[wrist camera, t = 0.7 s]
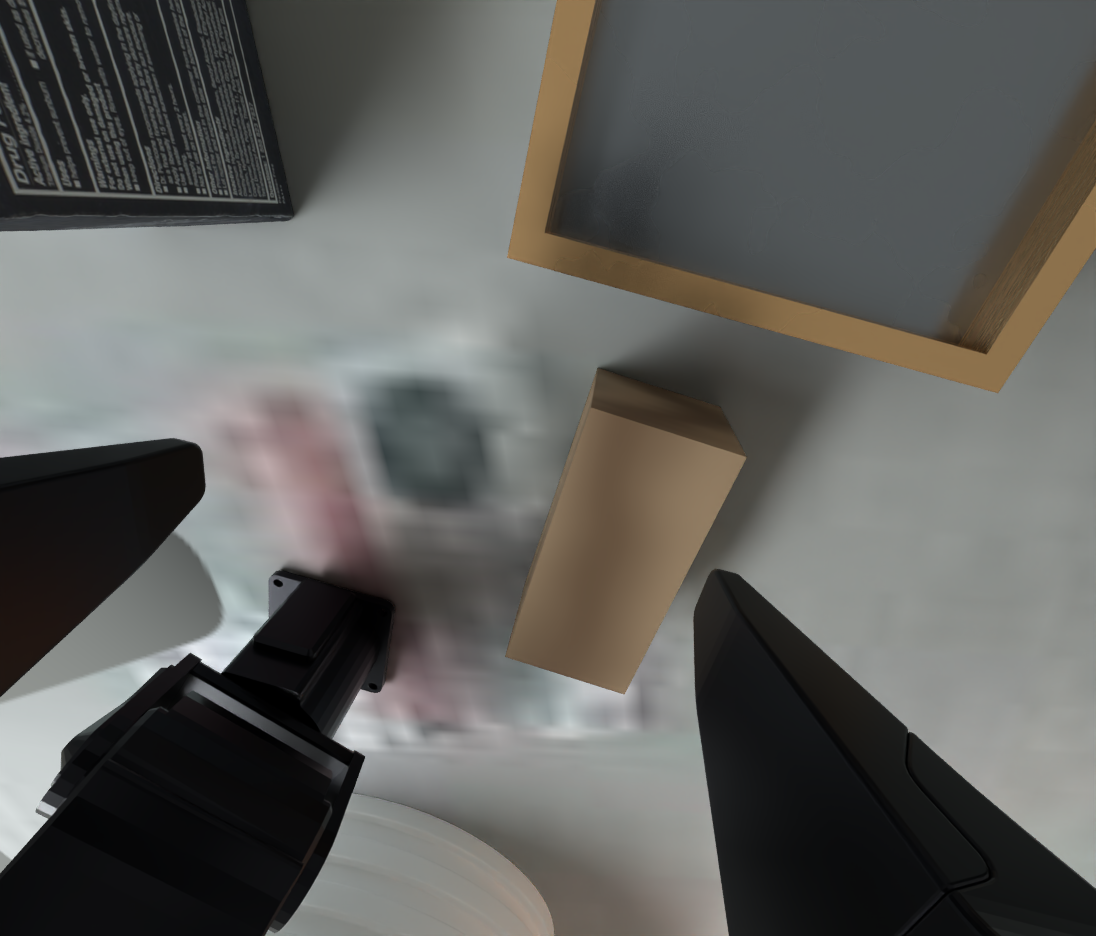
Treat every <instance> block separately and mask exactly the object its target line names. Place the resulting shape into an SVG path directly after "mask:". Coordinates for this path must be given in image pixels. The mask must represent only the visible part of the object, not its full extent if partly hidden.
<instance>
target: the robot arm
mask: <svg viewBox="0 0 1096 936" xmlns="http://www.w3.org/2000/svg"><path fill="white" fill-rule="evenodd" d="M205 487H206V484H205V474H204V463H203V453H202V450H201V448H200V447H199V446H198V445H197V444H195V443H193V442H188V441H184V440H180V439H175V438H169V439H160V440H151V441H143V442H134V443H125V444H116V445H108V446H99V447H90V448H81V449H73V450H64V451H55V452H47V453H38V454H29V455H20V456H12V457H3V458H0V697H1V696H2V695H3V694H4V693H5V692H6V691H7V690H8V689H9V688H10V687H12V686H13V685H14V684H15V683H16V682H17V681H18V680H19V679H20V678H21V677H22V676H23V675H25V674H26V673H27V672H28V671H29V670H30V669H31V668H32V667H33V666H34V665H35V664H36V663H37V662H39V661H40V660H41V659H42V658H43V657H44V656H45V655H46V654H47V653H48V652H49V651H50V650H51V649H53V648H54V647H55V646H56V645H57V644H58V643H59V642H60V641H61V640H62V639H63V638H64V637H66V635H68V634H69V633H70V632H71V631H72V630H73V629H74V628H75V627H76V626H77V625H79V623H81V622H82V621H83V620H84V619H85V618H86V617H87V616H88V615H89V614H90V613H91V612H93V611H94V610H95V609H96V608H97V607H98V606H99V605H100V604H101V603H102V602H103V601H105V600H106V599H107V598H108V597H109V596H110V595H111V594H112V593H113V592H114V591H115V590H116V589H117V588H119V587H120V586H121V585H122V584H123V583H124V582H125V581H126V580H127V579H128V578H129V577H130V576H132V575H133V574H134V573H135V572H136V570H138V569H139V568H140V567H141V566H142V565H143V564H144V563H145V562H146V561H147V559H148V558H149V557H150V556H151V555H152V554H153V553H154V552H155V551H156V550H157V549H158V547H159V546H160V545H161V544H162V543H163V542H164V541H165V539H166V538H167V537H168V536H169V535H170V534H171V533H172V532H173V531H174V529H175V528H176V527H177V526H178V525H179V524H180V523H181V522H182V520H183V519H184V518H185V517H186V516H187V515H188V514H189V513H190V511H191V510H192V509H193V508H194V507H195V506H196V505H197V504H198V503H199V501H200V500H201V499H202V497H203V495H204V492H205ZM280 580H281V581H282V582H281V581H280ZM382 609H384V610H385V611H383V610H382ZM394 613H395V607H394V605H393V604H392V603H391V602H389V601H387V600H384V599H380V598H377V597H373V596H370V595H366V594H363V593H359V592H356V591H352V590H349V589H345V588H342V587H338V586H334V585H331V584H327V583H324V582H320V581H317V580H313V579H310V578H306V577H303V576H299V575H296V574H292V573H289V572H285V571H280V570H279V571H276V572H275V573H274V574H273V575H272V576H271V577H270V578H269V619H268V620H267V621H266V622H265V623H264V624H263V625H262V627H261V628H260V629H259V630H258V631H257V632H256V633H255V634H254V636H253V638H252V639H251V640H250V641H249V642H248V644H247V645H246V646H245V647H244V648H243V649H242V650H241V651H240V653H239V654H238V655H237V656H236V657H235V658H234V659H233V660H232V662H231V663H230V664H229V665H228V666H227V667H226V668H225V669H224V671H223V672H222V673H219V672H217V671H215V670H214V669H212V668H210V667H209V666H207V665H205V664H204V663H202V662H201V660H202V659H200V658H198V657H197V656H195V655H193V654H192V653H189V654H188V655H187V656H186V657H185V658H184V659H183V660H181V661H180V662H179V663H178V664H177V665H176V666H173V665H170V666H169V667H168V668H160V669H159V670H158V671H157V672H156V673H155V674H154V675H153V676H152V677H151V678H150V679H149V680H148V681H147V682H146V683H145V684H144V685H143V686H142V687H141V688H140V689H139V690H138V691H137V692H135V693H134V694H133V695H132V696H131V697H130V698H129V699H127V700H126V701H125V702H124V703H122V704H121V705H120V706H118V707H117V708H115V709H114V710H112V711H111V712H110V713H108V714H107V715H105V716H104V717H102V718H101V719H99V720H98V721H97V722H95V723H94V724H92V725H91V726H89V727H88V728H87V729H85V730H84V731H82V732H81V733H79V734H78V735H77V736H75V737H74V738H73V739H72V740H71V741H70V742H69V743H68V744H67V745H66V746H65V748H64V749H63V750H62V752H61V771H60V772H59V773H58V775H57V776H56V778H55V779H54V780H53V782H52V784H51V786H52V787H51V788H50V789H49V790H48V792H47V793H46V794H45V796H44V797H43V799H42V800H41V801H40V803H39V805H38V806H37V808H36V813H38V814H40V815H42V816H44V817H46V818H48V820H47V821H46V823H45V824H44V825H43V826H42V827H41V828H40V829H39V830H38V832H37V833H36V834H35V835H34V836H33V837H32V838H31V839H30V841H29V842H28V843H27V844H26V845H25V846H24V847H23V848H22V850H21V851H20V852H19V853H18V854H17V855H16V856H15V857H14V859H13V860H12V861H11V862H10V863H9V864H8V865H7V866H6V868H5V869H4V870H3V871H2V872H1V873H0V936H265V935H266V933H267V931H268V930H269V931H271V932H273V933H276V932H278V931H280V930H281V929H282V928H283V927H284V926H285V925H286V923H287V922H288V921H289V920H290V918H291V917H292V916H293V914H294V913H295V912H296V910H297V909H298V907H299V906H300V904H301V903H302V901H303V900H304V898H305V896H306V895H307V893H308V892H309V890H310V888H311V887H312V885H313V883H314V881H315V880H316V878H317V876H318V874H319V872H320V870H321V868H322V867H323V865H324V863H325V861H326V859H327V857H328V854H329V852H330V850H331V848H332V846H333V843H334V841H335V838H336V836H337V833H338V831H339V828H340V825H341V822H342V820H343V817H344V814H345V811H346V809H347V806H348V803H349V800H350V798H351V795H352V792H353V789H354V787H355V784H356V781H357V778H358V776H359V773H360V770H361V767H362V764H363V762H364V759H365V756H364V755H362V754H360V753H359V752H357V751H354V752H352V751H351V750H349V749H347V748H346V747H344V746H342V745H341V744H339V743H337V742H336V741H334V740H332V738H333V737H334V735H335V733H336V731H337V729H338V728H339V726H340V724H341V722H342V721H343V719H344V717H345V715H346V713H347V712H348V710H349V708H350V706H351V705H352V703H353V701H354V699H355V697H356V696H357V694H358V692H359V690H360V689H362V690H366V691H369V692H373V693H378V692H380V691H381V689H382V687H383V685H384V683H385V677H386V670H387V663H388V655H389V648H390V641H391V634H392V627H393V620H394ZM693 622H694V665H695V696H696V708H697V716H698V723H699V730H700V737H701V744H702V751H703V758H704V765H705V772H706V779H707V786H708V793H709V800H710V807H711V814H712V821H713V828H714V835H715V842H716V849H717V855H718V862H719V869H720V876H721V883H722V890H723V897H724V904H725V911H726V918H727V925H728V932H729V936H1096V888H1094V887H1093V886H1092V885H1091V884H1089V883H1088V882H1087V881H1086V880H1085V879H1083V878H1082V877H1081V876H1080V875H1079V874H1077V873H1076V872H1075V871H1074V870H1073V869H1071V868H1070V867H1069V866H1068V865H1066V864H1065V863H1064V862H1063V861H1062V860H1060V859H1059V858H1058V857H1057V856H1056V855H1054V854H1053V853H1052V852H1051V851H1049V850H1048V849H1047V848H1046V847H1045V846H1043V845H1042V844H1041V843H1040V842H1039V841H1037V840H1036V839H1035V838H1034V837H1033V836H1031V835H1030V834H1029V833H1028V832H1026V831H1025V830H1024V829H1023V828H1022V827H1021V826H1019V825H1018V824H1017V823H1016V822H1015V821H1013V820H1012V819H1011V818H1010V817H1009V816H1007V815H1006V814H1005V813H1004V812H1003V811H1001V810H1000V809H999V808H998V807H997V806H996V805H994V804H993V803H992V802H991V801H990V800H988V799H987V798H986V797H985V796H984V795H982V794H981V793H980V792H979V791H978V790H977V789H975V788H974V787H973V786H972V785H971V784H970V783H969V782H967V781H966V780H965V779H964V778H963V777H962V776H961V775H960V774H958V773H957V772H956V771H955V770H954V769H953V768H952V767H951V766H949V765H948V764H947V763H946V762H945V761H944V760H943V759H941V758H940V757H939V756H938V755H937V754H936V753H935V752H934V751H933V750H931V749H930V748H929V747H928V746H927V745H926V744H925V743H924V742H923V741H922V740H921V739H919V738H918V737H917V736H916V735H915V734H914V733H912V732H909V733H908V729H907V727H906V726H905V725H904V724H903V723H902V722H901V721H899V720H898V719H897V718H896V717H895V716H894V715H893V714H892V713H891V712H890V711H888V710H887V709H886V708H885V707H884V706H883V705H882V704H881V703H880V702H878V701H877V700H876V699H875V698H874V697H873V696H872V695H871V694H870V693H869V692H867V691H866V690H865V689H864V688H863V687H862V686H861V685H860V684H859V683H858V682H856V681H855V680H854V679H853V678H852V677H851V676H850V675H849V674H848V673H847V672H845V671H844V670H843V669H842V668H841V667H840V666H839V665H838V664H837V663H835V662H834V661H833V660H832V659H831V658H830V657H829V656H828V655H827V654H826V653H824V652H823V651H822V650H821V649H820V648H819V647H818V646H817V645H816V644H815V643H813V642H812V641H811V640H810V639H809V638H808V637H807V636H806V635H805V634H804V633H802V632H801V631H800V630H799V629H798V628H797V627H796V626H795V625H794V624H792V623H791V622H790V621H789V620H788V619H787V618H786V617H785V616H784V615H783V614H781V613H780V612H779V611H778V610H777V609H776V608H775V607H774V606H773V605H772V604H770V603H769V602H768V601H767V600H766V599H765V598H764V597H763V596H762V595H761V594H759V593H758V592H757V591H756V590H755V589H754V588H753V587H752V586H751V585H750V584H748V583H747V582H746V581H745V580H744V579H743V578H742V577H741V576H740V575H738V574H736V573H733V572H728V571H724V570H720V569H714V570H713V571H711V573H710V574H709V576H708V578H707V580H706V583H705V585H704V588H703V590H702V592H701V595H700V597H699V599H698V602H697V604H696V607H695V611H694V619H693Z"/></svg>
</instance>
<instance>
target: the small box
mask: <svg viewBox="0 0 1096 936" xmlns="http://www.w3.org/2000/svg"><path fill="white" fill-rule="evenodd" d="M292 217H293V210H292V206H291V201H290V197H289V192H288V187H287V184H286V178H285V173H284V169H283V165H282V161H281V156H280V152H279V148H278V143H277V139H276V134H275V130H274V126H273V121H272V117H271V112H270V108H269V104H268V100H267V95H266V90H265V86H264V82H263V77H262V72H261V68H260V64H259V60H258V55H257V51H256V47H255V43H254V39H253V34H252V29H251V24H250V20H249V16H248V11H247V7H246V3H245V0H0V231H37V230H68V229H97V228H126V227H162V226H169V227H170V226H191V225H212V224H231V223H233V224H236V223H257V222H274V221H288V220H291V218H292Z"/></svg>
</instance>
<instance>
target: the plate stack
mask: <svg viewBox="0 0 1096 936" xmlns="http://www.w3.org/2000/svg"><path fill="white" fill-rule="evenodd" d="M265 936H554V926H553V921H552V917H551V914H550V912H549V909H548V907H547V905H546V903H545V901H544V899H543V898H542V896H541V895H540V893H539V892H538V890H537V889H536V888H535V886H534V885H533V884H532V883H531V881H530V880H529V879H528V878H527V877H526V876H525V875H524V874H523V873H522V872H521V871H520V870H519V869H518V868H517V867H516V866H515V865H514V864H513V863H511V862H510V861H509V860H508V859H507V858H505V857H504V856H503V855H502V854H500V853H499V852H498V851H496V850H495V849H493V848H492V847H490V846H489V845H487V844H486V843H484V842H483V841H481V840H480V839H478V838H476V837H475V836H473V835H471V834H469V833H468V832H466V831H464V830H462V829H460V828H458V827H456V826H454V825H452V824H450V823H448V822H446V821H444V820H441V819H439V818H437V817H434V816H432V815H430V814H427V813H424V812H422V811H419V810H416V809H413V808H411V807H408V806H404V805H401V804H398V803H394V802H391V801H387V800H383V799H379V798H375V797H370V796H365V795H360V794H354V793H352V795H351V798H350V800H349V803H348V806H347V809H346V811H345V814H344V817H343V820H342V822H341V825H340V828H339V831H338V833H337V836H336V838H335V841H334V843H333V846H332V848H331V850H330V852H329V854H328V857H327V859H326V861H325V863H324V865H323V867H322V868H321V870H320V872H319V874H318V876H317V878H316V880H315V881H314V883H313V885H312V887H311V888H310V890H309V892H308V893H307V895H306V896H305V898H304V900H303V901H302V903H301V904H300V906H299V907H298V909H297V910H296V912H295V913H294V914H293V916H292V917H291V918H290V920H289V921H288V922H287V923H286V925H285V926H284V927H283V928H282V929H281V930H280V931H278V932H276V933H273V932H271V931H269V930H268V931H267V933H266V935H265Z"/></svg>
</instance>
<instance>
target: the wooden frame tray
mask: <svg viewBox="0 0 1096 936" xmlns="http://www.w3.org/2000/svg"><path fill="white" fill-rule="evenodd" d="M1095 248H1096V0H557V3H556V8H555V13H554V18H553V23H552V29H551V34H550V39H549V44H548V49H547V54H546V60H545V65H544V70H543V75H542V80H541V85H540V91H539V96H538V101H537V106H536V111H535V116H534V122H533V127H532V132H531V137H530V142H529V147H528V153H527V158H526V163H525V168H524V173H523V179H522V184H521V189H520V194H519V199H518V204H517V210H516V215H515V220H514V225H513V230H512V235H511V241H510V246H509V251H508V256H507V258H510V259H514V260H518V261H521V262H525V263H528V264H532V265H536V266H539V267H543V268H547V269H550V270H554V271H557V272H561V273H565V274H568V275H572V276H576V277H579V278H583V279H586V280H590V281H594V282H597V283H601V284H605V285H608V286H612V287H615V288H619V289H623V290H626V291H630V292H633V293H637V294H641V295H644V296H648V297H652V298H655V299H659V300H662V301H666V302H670V303H673V304H677V305H681V306H684V307H688V308H691V309H695V310H699V311H702V312H706V313H710V314H713V315H717V316H720V317H724V318H728V319H731V320H735V321H738V322H742V323H746V324H749V325H753V326H757V327H760V328H764V329H767V330H771V331H775V332H778V333H782V334H786V335H789V336H793V337H796V338H800V339H804V340H807V341H811V342H815V343H818V344H822V345H825V346H829V347H833V348H836V349H840V350H843V351H847V352H851V353H854V354H858V355H862V356H865V357H869V358H872V359H876V360H880V361H883V362H887V363H891V364H894V365H898V366H901V367H905V368H909V369H912V370H916V371H919V372H923V373H927V374H930V375H934V376H938V377H941V378H945V379H948V380H952V381H956V382H959V383H963V384H967V385H970V386H974V387H977V388H981V389H985V390H988V391H992V392H996V393H998V392H999V391H1000V389H1001V388H1002V386H1003V385H1004V383H1005V382H1006V380H1007V379H1008V377H1009V376H1010V374H1011V373H1012V371H1013V370H1014V369H1015V367H1016V366H1017V364H1018V363H1019V361H1020V360H1021V358H1022V357H1023V355H1024V354H1025V352H1026V351H1027V349H1028V348H1029V346H1030V345H1031V343H1032V342H1033V340H1034V339H1035V337H1036V336H1037V334H1038V333H1039V331H1040V330H1041V328H1042V327H1043V325H1044V324H1045V323H1046V321H1047V320H1048V318H1049V317H1050V315H1051V314H1052V312H1053V311H1054V309H1055V308H1056V306H1057V305H1058V303H1059V302H1060V300H1061V299H1062V297H1063V296H1064V294H1065V293H1066V291H1067V290H1068V288H1069V287H1070V285H1071V284H1072V282H1073V281H1074V279H1075V278H1076V276H1077V275H1078V274H1079V272H1080V271H1081V269H1082V268H1083V266H1084V265H1085V263H1086V262H1087V260H1088V259H1089V257H1090V256H1091V254H1092V253H1093V251H1094V250H1095Z"/></svg>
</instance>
